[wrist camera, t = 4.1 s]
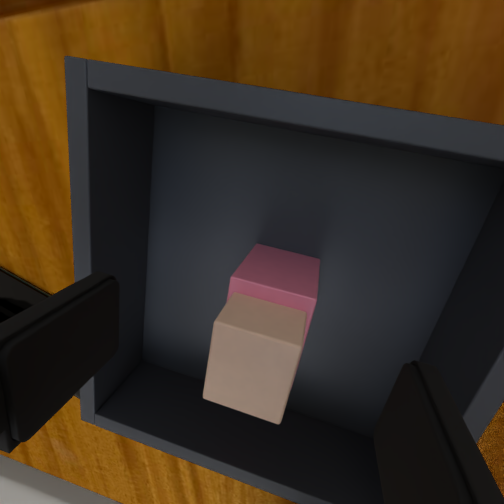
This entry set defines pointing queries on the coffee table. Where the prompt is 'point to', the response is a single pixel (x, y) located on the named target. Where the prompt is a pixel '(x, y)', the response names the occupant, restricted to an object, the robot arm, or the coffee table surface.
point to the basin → (290, 239)
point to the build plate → (18, 297)
